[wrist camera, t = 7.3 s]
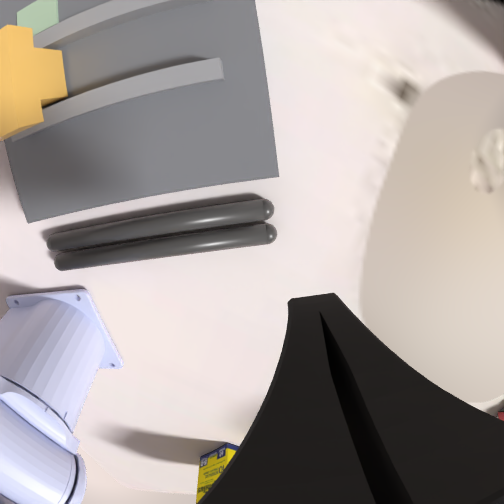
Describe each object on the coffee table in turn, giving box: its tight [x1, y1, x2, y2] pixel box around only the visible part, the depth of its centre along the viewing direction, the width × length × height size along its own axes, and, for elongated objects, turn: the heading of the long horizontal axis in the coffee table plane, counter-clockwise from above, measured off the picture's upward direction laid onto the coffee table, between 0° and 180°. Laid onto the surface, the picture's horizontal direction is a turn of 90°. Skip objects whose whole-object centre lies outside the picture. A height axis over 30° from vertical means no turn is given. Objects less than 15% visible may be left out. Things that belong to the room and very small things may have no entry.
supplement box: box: [196, 443, 239, 504], centre depth 28 cm, size 6×6×11 cm
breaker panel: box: [0, 0, 279, 271], centre depth 14 cm, size 16×20×3 cm
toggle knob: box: [0, 24, 68, 141], centre depth 11 cm, size 3×5×5 cm, turn 8°
